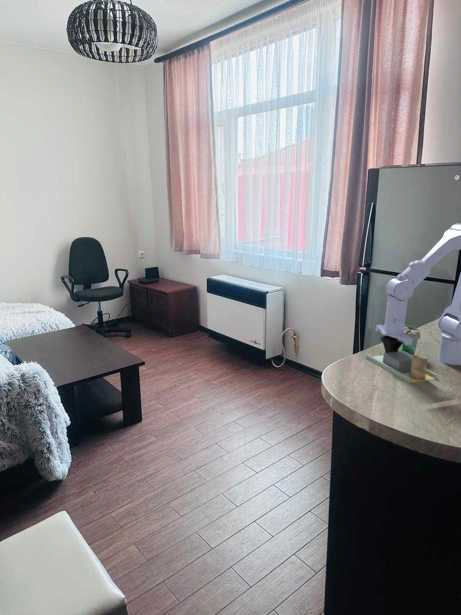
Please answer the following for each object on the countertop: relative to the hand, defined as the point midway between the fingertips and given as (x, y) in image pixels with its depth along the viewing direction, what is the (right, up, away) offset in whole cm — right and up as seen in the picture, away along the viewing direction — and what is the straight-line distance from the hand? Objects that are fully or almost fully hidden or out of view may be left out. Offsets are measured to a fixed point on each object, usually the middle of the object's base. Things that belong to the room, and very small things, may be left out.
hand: (390, 359), depth 134 cm
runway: (+1, -3, -3) cm, 5 cm away
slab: (+1, -2, -4) cm, 5 cm away
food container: (+8, -1, +7) cm, 11 cm away
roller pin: (+4, -4, -11) cm, 12 cm away
